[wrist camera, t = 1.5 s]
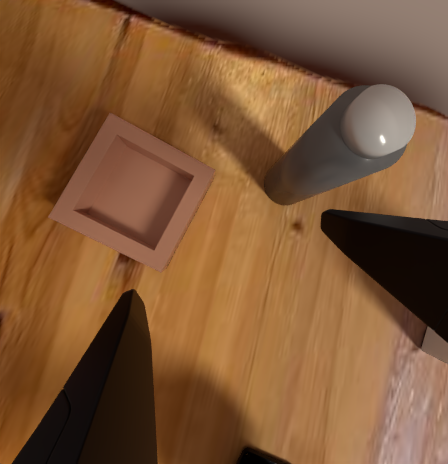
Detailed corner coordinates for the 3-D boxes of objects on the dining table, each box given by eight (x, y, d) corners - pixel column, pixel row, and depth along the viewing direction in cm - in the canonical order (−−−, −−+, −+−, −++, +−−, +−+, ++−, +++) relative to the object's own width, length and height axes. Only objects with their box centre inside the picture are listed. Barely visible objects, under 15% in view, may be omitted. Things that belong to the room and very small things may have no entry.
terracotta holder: (213, 178, 23) (215, 169, 20) (166, 267, 22) (161, 272, 19) (122, 129, 22) (109, 112, 19) (70, 220, 21) (48, 217, 18)
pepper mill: (312, 175, 24) (441, 102, 11) (294, 213, 24) (405, 182, 11) (275, 154, 24) (364, 53, 11) (256, 192, 23) (324, 134, 10)
